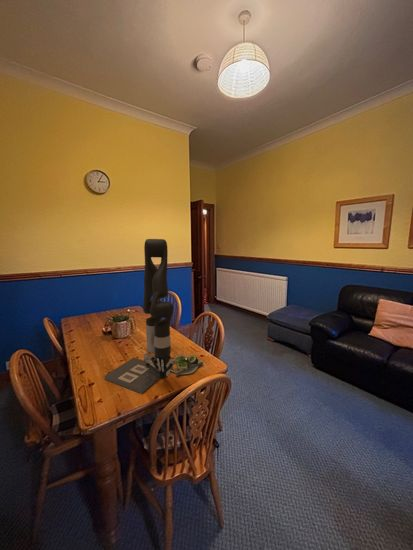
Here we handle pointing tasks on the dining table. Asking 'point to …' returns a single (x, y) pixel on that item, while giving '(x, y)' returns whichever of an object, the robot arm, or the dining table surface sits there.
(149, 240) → the robot arm
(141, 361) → the grey flat slab
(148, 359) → the cable arm
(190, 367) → the salad plate
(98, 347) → the dining table surface
